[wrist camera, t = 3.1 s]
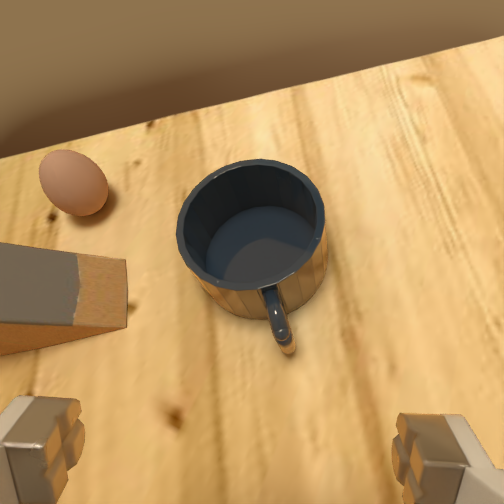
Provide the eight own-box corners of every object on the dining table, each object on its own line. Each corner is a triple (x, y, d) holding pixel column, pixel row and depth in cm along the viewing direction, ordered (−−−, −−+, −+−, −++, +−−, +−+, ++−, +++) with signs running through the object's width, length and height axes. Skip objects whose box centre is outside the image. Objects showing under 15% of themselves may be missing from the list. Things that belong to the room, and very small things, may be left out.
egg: (124, 180, 53) (85, 129, 45) (115, 226, 50) (71, 180, 42) (76, 185, 54) (30, 136, 46) (65, 229, 51) (13, 186, 43)
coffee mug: (192, 225, 48) (166, 184, 41) (305, 189, 47) (298, 141, 40) (223, 378, 39) (197, 359, 32) (362, 337, 38) (366, 309, 31)
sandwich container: (128, 329, 43) (34, 271, 30) (-6, 359, 45) (-151, 316, 32) (127, 257, 47) (44, 178, 34) (4, 286, 49) (-121, 221, 36)
